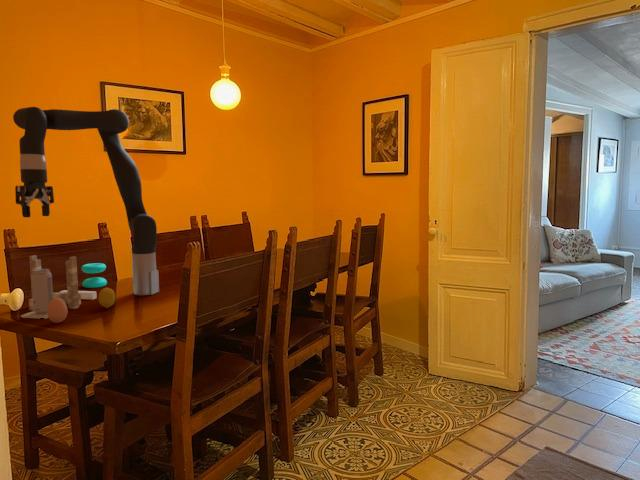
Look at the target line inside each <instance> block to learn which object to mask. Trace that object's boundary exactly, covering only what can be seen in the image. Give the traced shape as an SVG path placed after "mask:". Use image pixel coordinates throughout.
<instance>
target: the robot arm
mask: <svg viewBox="0 0 640 480" xmlns="http://www.w3.org/2000/svg"><path fill="white" fill-rule="evenodd" d="M12 119H13V123H14V124H15V125H16V126H17V127H18V128H20V129H21V130H24V134H23V136H21V137H20V139H19V171H20V182H21V183H23V185H15V186H14V187H15V189H14V191H15V194H14V195H15V204H16V205H20V206H21V213H22V217H23V218H31V206H30V204H31V203H32V202H33V201H34V200H36V199H37V200H38V201H39V202H40V203H41V214H42V216H43V217H50V211H51V210H50V206H51V205H52V204H54V203H55V198H54V197H55V196H54V189H53V186H52V185H46V184H47V183H48V171H47V170H48V169H47V159H46V152H45V151H46V150H45V139H46V136H47V135H46V134H47V130H53V131H55V130H56V131H79V130H93V129H97V131H98V134H99V136H100V138H101V141H102V142H103V145H104V148H105V150H106V153H107V157H108V160H109V163H110V166H111V169H112V172H113V173H112V174H113V176H114V177H113V178H114V179H115V182H116V185H117V188H118V192H119V194H120V196H121V199H122V202H123V204H124V208H125V213H126V218H127V224H128V227H129V230H130V231H131V233H132V236H133V237H132V238H133V241H132V242H133V244H132V246H131V259H132V260H131V263H132V286H133V295H134V296H152V295H154V294H157V293H159V292H160V279H159V269H157V259H156V258H157V256H156V255H157V253H156V252H157V251H156V249H157V244H158V243H157V242H158V241H157V239H158V238H157V237H158V236H157V235H158V234H157V232H158V231H157V222H156V221H155V219H154V217H152V215H149V214H148V213H147V211H146V208H145V205H144V203H143V193H142V192H143V191H142V188H143V187H142V181H141V176H140V173H139V170H138V167H137V165H136V163H135V161H134V159H133V158H132V157H131V155H129V153H127V151H126V149H124V146H123V145H122V143H121V139H120V136H119V135H120V134H122V133H124V132H126V131H127V130H128V128H129V126H130V120H129V117H128V115H127V114H126V113H125V112H124V111H122V110H120V109H117V108H115V109H114V108H113V109H108V110H99V111H98V110H97V111H93V110H92V111H89V110H87V111H85V110H71V109H58V108H57V109H55V108H52V109H41V108H40V107H36V106H28V107H22V108H19V109H17V110H15V112H14V113H13V115H12Z"/></svg>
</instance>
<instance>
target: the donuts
mask: <svg viewBox="0 0 640 480" xmlns="http://www.w3.org/2000/svg"><path fill="white" fill-rule="evenodd" d="M106 268H107V265H106V264H105V263H101V262H96V263H95V262H94V263H93V262H92V263H86V264H83V265H81V271H82V272H83V273H86V274H99V273H102V272H104V271H105V270H106ZM107 284H108V281H107V279H106V278H104V277H98V276H97V277H88V278H86V279H84V280H83V281H82V287H84V288H86V289H96V288H102V287H106V286H107Z"/></svg>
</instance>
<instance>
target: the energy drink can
mask: <svg viewBox="0 0 640 480" xmlns="http://www.w3.org/2000/svg"><path fill="white" fill-rule="evenodd" d="M31 281H32V289H31V296H32V295H33V310H34V312H36V314H47V308H48V305H49V303H50V301H51V300H53V293H54V290H53V289H54V287H53V274H52V272H51V271H50V268H41V269H36V270H33V273H32V275H30V282H31Z"/></svg>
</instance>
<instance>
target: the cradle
mask: <svg viewBox="0 0 640 480" xmlns="http://www.w3.org/2000/svg"><path fill="white" fill-rule="evenodd" d="M28 258H29V269H30V271H29V272H30V273H29V274H30V275H29V276H31V275H32V273H33V270H36V269H42V259H39V258H38V256H37V255H36V254H35V255H29V256H28ZM68 259H69V260H66V261H65V274H66V287H67V288H66V290H67V293H60V292H53V299H54V298H61V299H62V300H63V301H64V302H65V303H66V305H67V309H71V310H72V309H75V310H76V309H78V308H79V307H80V305H82V299H81V294H80V293H78V291H79V280H78V265H77V264H78V261H77V256H75V255H73V256H70V257H69V258H68ZM30 288H31V290H32V281H31V280H30ZM28 311H30V312H32V311H34V310H33V295H32V294H31V298H29V299H28Z"/></svg>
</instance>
